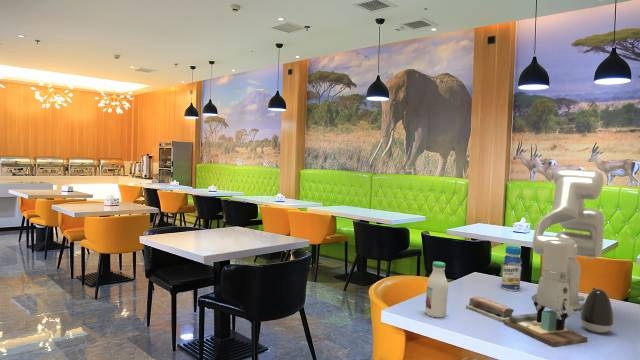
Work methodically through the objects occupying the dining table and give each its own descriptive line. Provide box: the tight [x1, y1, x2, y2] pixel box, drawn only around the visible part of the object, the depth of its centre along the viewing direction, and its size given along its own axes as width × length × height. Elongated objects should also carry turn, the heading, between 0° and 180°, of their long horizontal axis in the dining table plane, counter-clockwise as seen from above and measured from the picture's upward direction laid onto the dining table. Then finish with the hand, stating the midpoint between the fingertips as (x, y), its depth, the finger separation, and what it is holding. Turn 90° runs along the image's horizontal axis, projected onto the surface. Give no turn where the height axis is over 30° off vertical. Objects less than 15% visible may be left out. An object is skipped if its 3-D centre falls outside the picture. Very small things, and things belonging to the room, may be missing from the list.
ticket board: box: [503, 312, 588, 348], centre depth 161 cm, size 16×21×4 cm
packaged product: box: [465, 296, 516, 323], centre depth 179 cm, size 18×5×10 cm
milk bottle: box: [424, 261, 449, 319], centre depth 173 cm, size 8×8×20 cm
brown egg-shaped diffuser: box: [580, 287, 615, 334], centre depth 166 cm, size 10×10×15 cm
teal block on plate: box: [526, 309, 569, 334], centre depth 159 cm, size 13×6×6 cm, turn 113°
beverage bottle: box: [500, 245, 523, 292], centre depth 217 cm, size 8×8×20 cm
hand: (549, 325), depth 159 cm, fingers open, 7 cm apart
